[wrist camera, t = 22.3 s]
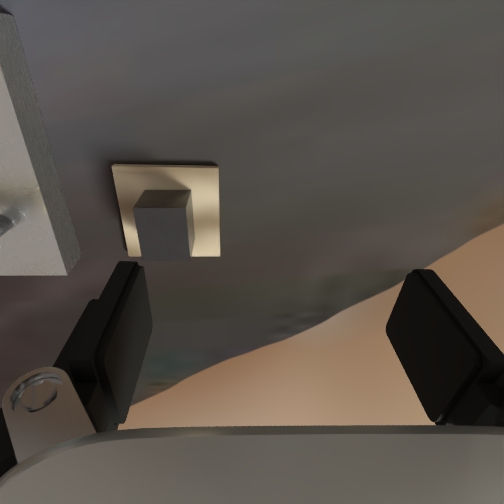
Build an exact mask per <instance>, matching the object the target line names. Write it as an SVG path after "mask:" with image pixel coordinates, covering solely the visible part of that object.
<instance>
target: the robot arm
mask: <svg viewBox="0 0 504 504" xmlns="http://www.w3.org/2000/svg"><path fill="white" fill-rule="evenodd" d="M151 332H152V316H151V310H150V304H149V297H148V291H147V284H146V278H145V272H144V267H143V266H139V265H138V263H137V262H132V261H119V262H118V264H117V265H116V267H115V269H114V271H113V273H112V275H111V277H110V279H109V281H108V282H107V284H106V286H105V288H104V290H103V292H102V294H101V296H100V298H99V299H92V300H91V301H90V302H89V303H88V305H87V306H86V308H85V310H84V312H83V314H82V315H81V317H80V319H79V321H78V322H77V324H76V326H75V328H74V330H73V331H72V333H71V335H70V337H69V339H68V340H67V342H66V344H65V346H64V347H63V349H62V351H61V353H60V355H59V356H58V358H57V360H56V362H55V363H54V365H53V367H45V368H39V369H37V370H34V371H31V372H29V373H27V374H26V375H24V376H22V377H21V378H19V379H18V380H17V381H16V382H15V383H14V384H12V385H11V387H10V388H9V389H8V391H7V392H6V393H5V396H4V398H3V401H2V408H1V409H0V504H504V354H503V353H502V352H501V351H500V349H499V348H498V347H497V346H496V345H495V344H494V342H493V341H492V340H491V339H490V337H489V336H488V335H487V334H486V333H485V332H484V330H483V329H482V328H481V327H480V326H479V324H478V323H477V322H476V321H475V320H474V318H473V317H472V316H471V315H470V314H469V312H467V310H466V309H465V308H464V306H463V305H462V304H461V303H460V302H459V300H458V299H457V298H456V297H455V296H454V295H453V293H452V292H451V291H450V290H449V289H448V287H447V286H446V285H445V284H444V283H443V281H442V280H441V279H440V278H439V277H438V275H437V274H436V273H435V272H434V271H433V270H430V269H414V270H413V271H412V272H411V273H409V274H407V276H406V279H405V281H404V283H403V286H402V289H401V291H400V293H399V296H398V298H397V301H396V303H395V305H394V308H393V310H392V312H391V315H390V318H389V320H388V322H387V325H386V333H387V336H388V338H389V340H390V342H391V344H392V346H393V348H394V350H395V352H396V354H397V356H398V358H399V360H400V362H401V364H402V366H403V368H404V370H405V372H406V374H407V376H408V378H409V380H410V382H411V384H412V386H413V388H414V390H415V392H416V394H417V396H418V398H419V400H420V402H421V403H422V406H423V408H424V410H425V412H426V414H427V416H428V417H429V419H430V420H431V421H432V422H435V424H436V425H416V426H415V425H381V426H380V425H364V426H363V425H361V426H360V425H359V426H358V425H355V426H354V425H352V426H233V427H232V426H231V427H230V426H228V427H173V428H141V429H127V430H117V428H118V425H119V424H123V423H124V422H125V421H126V418H127V414H128V411H129V408H130V404H131V401H132V397H133V394H134V390H135V387H136V383H137V380H138V377H139V373H140V370H141V366H142V363H143V359H144V356H145V353H146V349H147V346H148V342H149V339H150V335H151Z"/></svg>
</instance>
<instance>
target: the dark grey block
mask: <svg viewBox="0 0 504 504" xmlns="http://www.w3.org/2000/svg"><path fill="white" fill-rule="evenodd" d="M133 213H134V218H135V224H136V229H137V235H138V240H139V245H140V251H141V256H142V261H191V256H192V251H193V246H194V241H195V230H194V218H193V205H192V193H191V190H144V192H143V193H142V195H141V196H140V198H139V199H138V201H137V202H136V204H135V205H134V207H133Z"/></svg>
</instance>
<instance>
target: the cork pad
mask: <svg viewBox="0 0 504 504" xmlns="http://www.w3.org/2000/svg"><path fill="white" fill-rule="evenodd" d="M112 171H113V177H114V182H115V187H116V192H117V197H118V203H119V208H120V213H121V218H122V223H123V228H124V234H125V239H126V244H127V249H128V254H129V256H141V251H140V245H139V240H138V235H137V229H136V224H135V218H134V213H133V207H134V205H135V204H136V202H137V201H138V199H139V198H140V196H141V195H142V193H143V192H144V190H191V193H192V205H193V218H194V230H195V241H194V246H193V251H192V256H220V224H219V174H218V166H195V165H138V164H113V165H112Z"/></svg>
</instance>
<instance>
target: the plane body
mask: <svg viewBox="0 0 504 504" xmlns="http://www.w3.org/2000/svg"><path fill="white" fill-rule="evenodd" d="M80 258H81V253H80V250H79V246H78V242H77V239H76V235H75V232H74V228H73V225H72V221H71V218H70V214H69V211H68V207H67V204H66V200H65V196H64V193H63V189H62V186H61V182H60V179H59V175H58V172H57V168H56V165H55V161H54V157H53V154H52V150H51V147H50V143H49V140H48V136H47V133H46V129H45V126H44V122H43V119H42V115H41V111H40V108H39V104H38V101H37V97H36V94H35V90H34V87H33V83H32V80H31V76H30V73H29V69H28V65H27V62H26V58H25V55H24V51H23V48H22V44H21V41H20V37H19V34H18V30H17V26H16V23H15V19H14V16H13V15H8V14H3V13H0V275H68V274H69V272H70V271H71V270H72V268H73V267H74V266H75V264H76V263H77V262H78V260H79V259H80Z"/></svg>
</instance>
